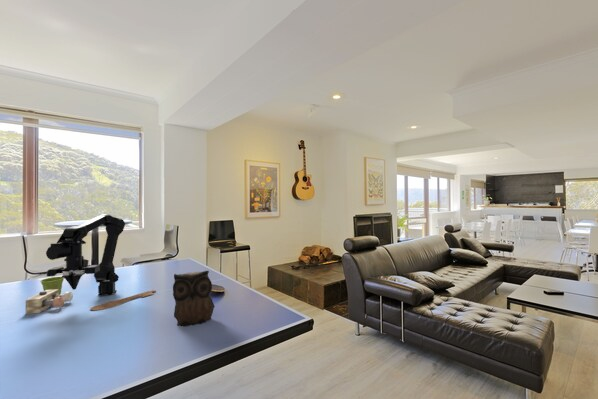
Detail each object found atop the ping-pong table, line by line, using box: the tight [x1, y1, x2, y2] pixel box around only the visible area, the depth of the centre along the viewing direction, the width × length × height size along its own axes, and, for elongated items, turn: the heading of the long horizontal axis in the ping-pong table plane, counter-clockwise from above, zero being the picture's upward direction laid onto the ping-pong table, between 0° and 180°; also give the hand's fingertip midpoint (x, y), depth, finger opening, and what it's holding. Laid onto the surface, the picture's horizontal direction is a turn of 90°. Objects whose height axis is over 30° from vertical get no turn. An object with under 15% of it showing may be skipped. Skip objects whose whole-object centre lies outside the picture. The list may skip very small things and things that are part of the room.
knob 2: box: [52, 291, 74, 303], centre depth 134 cm, size 7×4×4 cm, turn 103°
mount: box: [25, 289, 59, 315], centre depth 129 cm, size 5×14×7 cm, turn 13°
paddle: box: [89, 289, 157, 312], centre depth 138 cm, size 8×30×2 cm, turn 148°
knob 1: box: [42, 297, 66, 308], centre depth 127 cm, size 7×4×4 cm, turn 103°
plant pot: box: [39, 276, 65, 295], centre depth 145 cm, size 9×9×9 cm
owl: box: [172, 270, 215, 328], centre depth 112 cm, size 13×13×20 cm
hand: (74, 289), depth 129 cm, fingers closed
